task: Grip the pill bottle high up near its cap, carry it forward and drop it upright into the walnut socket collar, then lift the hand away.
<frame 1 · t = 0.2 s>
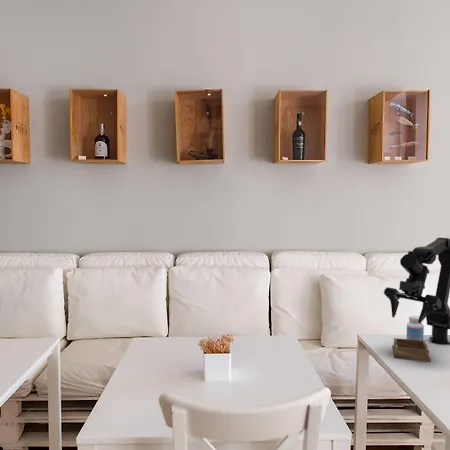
hand: (405, 320, 154), 15 cm above the table, tool tilted 30°, fingers open, 9 cm apart
walnut socket: (410, 354, 162), on the table
pill bottle: (414, 345, 171), on the table
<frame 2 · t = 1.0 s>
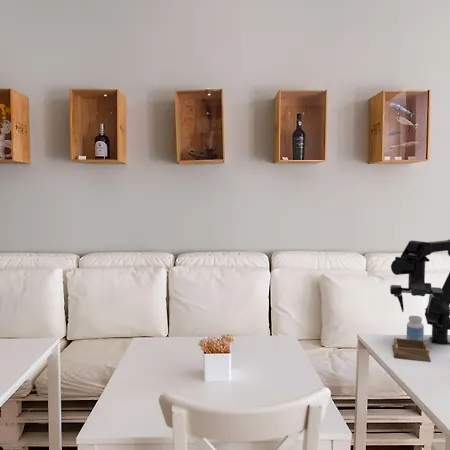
hand: (415, 312, 170), 13 cm above the table, tool pointing down, fingers open, 9 cm apart
nothing on the table moved.
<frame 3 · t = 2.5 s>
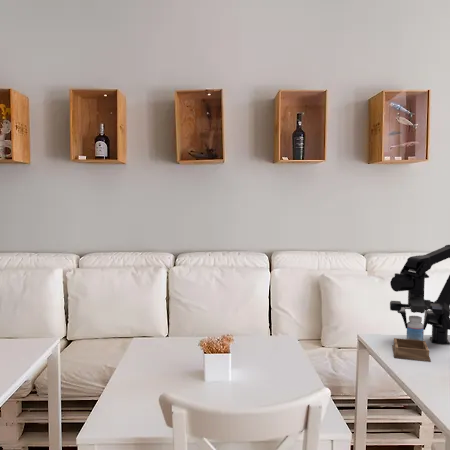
hand: (415, 328, 171), 7 cm above the table, tool pointing down, fingers closed on pill bottle, 6 cm apart
pill bottle: (414, 345, 171), on the table, touching gripper
when the fingers open (9 cm above the table, at t = 6.8 s): pill bottle drops 1 cm, resting on walnut socket.
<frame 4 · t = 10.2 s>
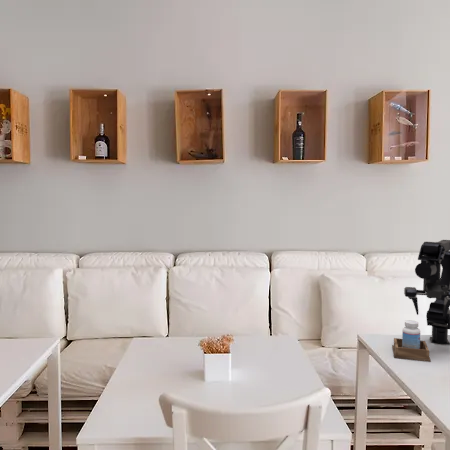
hand: (430, 315, 166), 13 cm above the table, tool pointing down, fingers open, 9 cm apart
pill bottle: (410, 352, 162), point 1 cm above the table, touching walnut socket
at the end: pill bottle 0.1 cm off-centre on the walnut socket, point 0.6 cm above the walnut socket's base; pill bottle tilted 0°; the gripper is holding nothing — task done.
